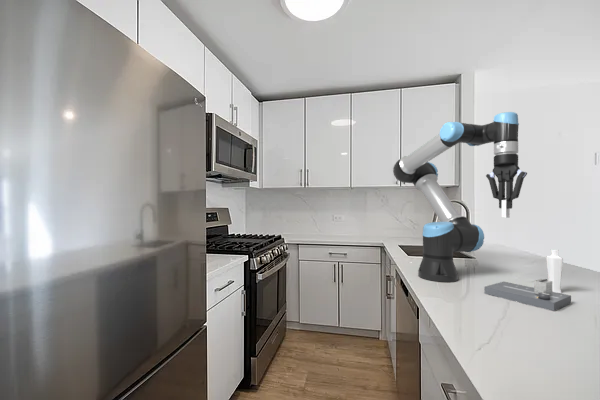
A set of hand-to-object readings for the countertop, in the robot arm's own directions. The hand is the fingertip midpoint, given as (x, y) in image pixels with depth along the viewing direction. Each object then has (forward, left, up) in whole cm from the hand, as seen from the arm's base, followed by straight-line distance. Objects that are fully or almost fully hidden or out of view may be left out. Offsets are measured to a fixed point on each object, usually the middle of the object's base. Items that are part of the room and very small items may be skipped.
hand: (505, 217), depth 108 cm
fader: (+14, -7, -24) cm, 28 cm away
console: (+9, -7, -26) cm, 29 cm away
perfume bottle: (+11, +12, -27) cm, 31 cm away
